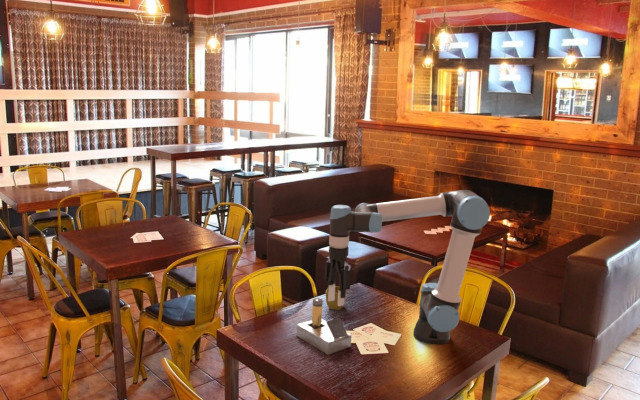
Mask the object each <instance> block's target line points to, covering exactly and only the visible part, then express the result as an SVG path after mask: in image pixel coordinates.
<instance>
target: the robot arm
mask: <svg viewBox="0 0 640 400" xmlns="http://www.w3.org/2000/svg"><path fill="white" fill-rule="evenodd" d="M439 215H441V216H443V217H445V218H446V217H451V221H450V223H449V226H450V228H451V230H452V232H451V235H450V237H449V238H450V239H449V243H448V246H447V250H446V253H445V257H444V260H443V263H442V268H441V270H440V271H441V272H440V274H439V278H438V281H437V282H426V283H423V284H422V285H421V289H420V299H419V311H418V312H419V315H418V318H417V321H416V323H415V325H414V328H413V334H412V335H413V337H414V339H416V340H417V341H418V342H420V343H424V344H426V345H432V346H433V345H434V346H435V345H445V344H447V343H449V341H450V340H451V332H450V331H452V330H455V328H456V327H457V326H458V324H459V322H460V313H459V309H460V305H461V302H462V298H461V296H460V295H459V294H460V291H461V286H462V284H463V282H464V281H463V280H464V277H465V274H466V270H467V266H468V263H469V260H470V256H471V253H472V249H473V246H474V242H475V238H476V237H477V236H479V235H481V233H482V229H483V227H485V226H486V225H487V223H488V222H489V219H490V216H491V212H490V206H489V205H488V203H487V202H486V200H485V199H484V198H483V197H481V196H480V195H477V193H476V192H474V191H472V190H468V189H460V190H452V191H445V192H441V193H440V194H439V195H435V196H426V197H419V198H411V199H401V200H394V201H393V200H392V201H386V202H378V203H366V202H362V203H359V204H358V205H356V207H355V210H354V211H352V208H351V206H349V205H345V204H336V205H333V206H332V207H331V209H330V215H329V216H330V217H329V219H330V220H329V240H328V244H329V246H328V256H326V257H324V263H325V264H324V282H325V283H326V284H327V288H328V292H329V293H328V301H329V302H330V301H333V300H335V286H336V283H335V279H336V276H337V275H338V283H339V284H338V285H339V287H340V289H339V290H338V306H342V307H343V306H344V305H345V300H344V298H345V299H346V297H345V294H346V295H347V291H346V290H350V289H351V273H352V268H353V265H352V264H349V263H348V260H347V257H348V256H349V245H350V232H357V233H371V234H372V233H380V232H381V231H382V227H383V222H391V221H400V220H408V219H414V218H424V217H432V216H439Z"/></svg>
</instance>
